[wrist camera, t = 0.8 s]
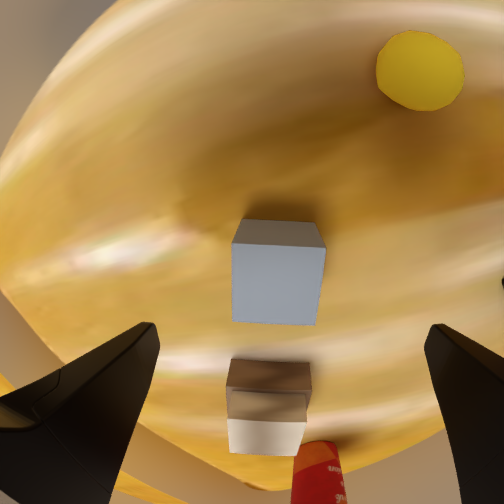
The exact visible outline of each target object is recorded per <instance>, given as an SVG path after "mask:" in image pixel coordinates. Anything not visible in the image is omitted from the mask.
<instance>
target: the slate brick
mask: <svg viewBox="0 0 504 504" xmlns="http://www.w3.org/2000/svg"><path fill="white" fill-rule="evenodd" d="M325 254H326V246H325V244H324V242H323V240H322V238H321V235H320V233H319V231H318V229H317V227H316V225H315V223H313V222H296V221H277V220H256V219H242V220H241V222H240V225H239V227H238V229H237V232H236V234H235V237H234V239H233V241H232V321H233V322H248V323H264V324H285V325H315V322H316V316H317V310H318V304H319V298H320V291H321V284H322V277H323V270H324V262H325Z"/></svg>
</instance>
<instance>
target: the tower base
mask: <svg viewBox="0 0 504 504" xmlns="http://www.w3.org/2000/svg"><path fill="white" fill-rule="evenodd" d="M311 392H312V385H311V376H310V367H309V363H291V362H267V361H251V360H237V359H231V363H230V368H229V373H228V378H227V383H226V398H227V413H228V416H227V424H228V437H229V449H230V453H240V454H253V455H273V456H296V455H297V452H298V449H299V446H300V443H301V440H302V437H303V434H304V431H305V427H306V424H307V414H306V411H307V408H308V404H309V400H310V396H311Z"/></svg>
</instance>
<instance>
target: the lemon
mask: <svg viewBox="0 0 504 504" xmlns="http://www.w3.org/2000/svg"><path fill="white" fill-rule="evenodd" d="M464 77H465V74H464V69H463V64H462V60H461V56H460V54H459V53H458V52H457V51H456V50H455V49H453V48H452V47H451V46H450V45H449V44H448V43H447V42H445V41H444V40H442V39H440V38H438V37H436V36H434V35H432V34H430V33H425V32H418V31H411V30H409V31H406V32H403V33H400V34H397V35H394V36H392V38H391V39H390V40H389V41H388V42H387V44H386V45H385V46H384V47H383V48H382V50H381V51H380V52H379V54H378V57H377V64H376V78H377V85H378V87H379V89H380V90H381V91H382V92H383V93H384V94H386V95H387V96H388V97H389V98H391V99H392V100H393V101H395V102H397V103H399V104H401V105H403V106H404V107H406V108H408V109H412V110H415V111H436V110H438V109H440V108H442V107H445V106H447V105H449V104H451V103H452V101H453V100H454V99H455V98H456V97H457V95H458V94H459V93H460V92H461V90H462V88H463V82H464Z"/></svg>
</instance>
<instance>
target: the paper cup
mask: <svg viewBox="0 0 504 504" xmlns="http://www.w3.org/2000/svg"><path fill="white" fill-rule="evenodd" d="M291 504H347V498H346V492H345V487H344V481H343V476H342V470H341V465H340V460H339V456H338V451H337V447H336V445H335V444H334V443H332V442H328V441H314V442H309V443H306V444H303V445H301V446H299V449H298V452H297V455H296V456H294V467H293V480H292V492H291Z"/></svg>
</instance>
